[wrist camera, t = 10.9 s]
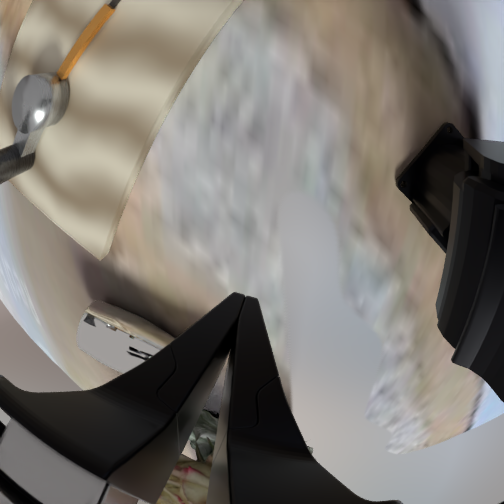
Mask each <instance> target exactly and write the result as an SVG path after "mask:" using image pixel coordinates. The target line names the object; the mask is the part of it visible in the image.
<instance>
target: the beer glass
mask: <svg viewBox="0 0 504 504" xmlns="http://www.w3.org/2000/svg"><path fill="white" fill-rule="evenodd" d="M174 339H175V337H173V336H171V335H170V334H168V333H166V332H165V331H163V330H162V329H160V328H158V327H157V326H155V325H154V324H152V323H150V322H149V321H147V320H145V319H143V318H142V317H140V316H138V315H136V314H133V313H131V312H129V311H127V310H124V309H122V308H119V307H117V306H114V305H111V304H108V303H106V302H103V301H102V300H96V301H94V302H93V303H91V304H90V305H89V307H88V308H87V309H86V311H85V312H84V314H83V316H82V318H81V320H80V323H79V326H78V330H77V345H78V348H79V349H80V350H81V351H83V352H85V353H86V354H88V355H89V356H91V357H92V358H94V359H95V360H97V361H99V362H100V363H102V364H104V365H106V366H107V367H109V368H111V369H113V370H116V371H118V372H120V373H123V374H124V373H125V372H127V371H129V370H131V369H132V368H134V367H136V366H138V365H139V364H141V363H142V362H144V361H146V360H147V359H149V358H150V357H152V356H153V355H154V354H156V353H157V352H159V351H160V350H161V349H163V348H164V347H165V346H166V345H168V344H170V342H172V341H173V340H174Z"/></svg>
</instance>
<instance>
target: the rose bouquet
mask: <svg viewBox="0 0 504 504" xmlns="http://www.w3.org/2000/svg"><path fill="white" fill-rule="evenodd" d="M218 421H219V419H217V418H214V417H213V416H212V415H211V414H210V413H209V412H208V411H206V410H202V412H201V414H200V416H199V419H198V421H197V423H196V425H195V427H194V429H193V431H192V433H191V435H190V437H189V439H188V440H190V441H191V442H190V444H191V447H192V448H193V449H195V450H196V456H197V460H196V461H195V460H193V459H191V458H189V457H187V456H185V455H183V454H181V455H180V456H179V459H178V461H177V463H176V465H175V467H174V469H173V471H172V473H171V475H170V477H169V479H168V481H167V483H166V485H165V487H164V489H163V491H162V493H161V495H160V497H159V499H158V501H157V503H156V504H206V500H207V493H208V487H209V480H210V473H211V467H212V460H213V454H214V447H215V440H216V434H217V427H218ZM307 447H308V449H309V451H310V453H311V454H312V452H313V448H310V447H309V446H307Z"/></svg>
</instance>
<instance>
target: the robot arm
mask: <svg viewBox="0 0 504 504" xmlns="http://www.w3.org/2000/svg"><path fill="white" fill-rule="evenodd" d="M448 127H450V132H449V133H448V132H447V128H448ZM402 181H405V185H404V186H401V182H402ZM396 186H397V187H398V189H399V190H400V191H401V192H402V193H403V194H404V195H405V196H406V197H407V198H408V199H409V200H410V201H411V202H412V204H411V205H410V210H411V212H412V213H413V214H414V215H415V217H416V218H417V219H418V221H419V222H420V223H421V224H422V226H423V227H424V228H425V230H426V231H427V232H428V234H429V235H430V236H431V237H432V238H433V239H434V241H435V242H436V243H437V244H438V245H439V246H440V247H441V249H442V250H443V251H444V252H445V253H446V258H445V264H444V269H443V274H442V279H441V284H440V288H439V293H438V297H437V301H436V310H437V318H438V320H439V321H438V324H437V326H438V328H439V330H440V332H441V333H442V335H443V337H444V338H445V339H446V340H447V341H448V342H449V343H450V344H451V346H452V347H454V348H455V352H454V354H453V356H452V358H451V361H452V362H453V363H455V364H457V365H460V366H463V367H465V368H468V369H470V370H472V371H473V372H475V373H476V374H477V375H479V376H480V377H482V378H483V379H484V380H485V381H486V382H487V383H488V384H489V386H490V387H491V388H492V389H493V390H494V392H495V393H496V394H497V395H498V397H499V398H500V399H501V400H502V401H503V402H504V142H499V141H490V140H480V139H467V138H463V136H462V135H461V134H460V133H459V131H458V130H457V129H456V128H455V126H454V125H453V124H451V123H448V122H446V123H444V124H443V125H442V126H441V127H440V129H439V130H438V131H437V132H436V133H435V135H434V136H433V137H432V138H431V140H430V141H429V142H428V143H427V144H426V146H425V147H424V148H423V149H422V150H421V152H420V153H419V154H418V155H417V156H416V157H415V159H414V160H413V161H412V162H411V163H410V164H409V166H408V167H407V168H406V169H405V170H404V171H403V172H402V174H401V175H400V176H399V177H398V178H397V180H396ZM229 352H230V353H229ZM228 355H229V358H228V363H227V370H226V376H225V382H224V389H223V395H222V402H221V408H220V414H219V421H218V427H217V434H216V440H215V447H214V454H213V460H212V467H211V473H210V480H209V487H208V493H207V500H206V504H403V503H401V501H399V500H389V501H378V502H376V501H369V500H365V499H363V498H361V497H359V496H357V495H356V494H354V493H353V492H352V491H351V490H350V489H348V488H347V487H346V486H345V485H343V484H342V483H341V482H340V481H339V480H337V479H336V478H335V477H334V476H333V475H332V474H330V473H329V472H328V471H327V470H326V469H325V468H323V467H322V466H321V465H320V464H319V463H318V462H317V461H316V460H315V459H314V457H313V456H312V454H311V453H310V451H309V449H308V447H307V445H306V443H305V441H304V438H303V436H302V434H301V432H300V430H299V428H298V426H297V423H296V421H295V419H294V416H293V414H292V412H291V409H290V407H289V404H288V402H287V399H286V396H285V393H284V390H283V387H282V384H281V380H280V377H278V376H279V373H278V370H277V366H276V362H275V359H274V355H273V352H272V348H271V344H270V341H269V337H268V333H267V330H266V326H265V323H264V319H263V315H262V312H261V308H260V304H259V301H258V299H257V298H254V297H251V296H246V297H245V295H244V294H240V293H237V292H233V293H232V294H231V295H229V296H228V297H227V298H226V299H224V300H223V301H222V302H221V303H219V304H218V305H217V306H216V307H214V308H213V309H212V310H211V311H209V312H208V313H207V314H206V315H204V316H203V317H202V318H201V319H199V320H198V321H197V322H196V323H194V324H193V325H192V326H191V327H189V328H188V329H187V330H186V331H184V332H183V333H182V334H181V335H179V336H178V337H177V338H175V339H174V340H173V341H172V342H170V344H168V345H166V346H165V347H164V348H163V349H161V350H160V351H159V352H157V353H156V354H154V355H153V356H152V357H150V358H149V359H147V360H146V361H144V362H142V363H141V364H139V365H138V366H136V367H134V368H132V369H131V370H129V371H127V372H125V373H124V374H122V375H120V376H118V377H117V378H115V379H113V380H111V381H109V382H108V383H106V384H104V385H102V386H100V387H97V388H94V389H91V390H85V391H71V392H43V393H36V392H28V391H24V390H21V389H19V388H17V387H15V386H14V385H13V384H12V383H11V382H10V381H9V380H7V379H6V378H5V377H4V376H2V375H0V408H1V409H2V410H3V411H4V412H5V413H6V414H7V415H9V416H10V417H11V419H10V421H9V423H8V424H7V426H5V425H4V424H3V423H2V422H1V421H0V504H137V502H138V500H142V501H144V502H147V503H149V504H156V503H157V501H158V499H159V497H160V495H161V493H162V491H163V489H164V487H165V485H166V483H167V481H168V479H169V477H170V475H171V473H172V471H173V469H174V467H175V465H176V463H177V461H178V459H179V456H180V455H181V453H182V451H183V449H184V447H185V445H186V443H187V441H188V439H189V437H190V435H191V433H192V431H193V429H194V427H195V425H196V423H197V421H198V419H199V416H200V414H201V412H202V410H203V408H204V406H205V404H206V402H207V400H208V398H209V396H210V394H211V391H212V389H213V387H214V385H215V383H216V381H217V379H218V377H219V374H220V372H221V370H222V368H223V366H224V364H225V362H226V359H227V357H228ZM499 504H504V501H503V502H501V503H499Z"/></svg>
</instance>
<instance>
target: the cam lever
mask: <svg viewBox="0 0 504 504" xmlns="http://www.w3.org/2000/svg"><path fill="white" fill-rule="evenodd" d="M114 12H115V9H114V8H113V7H111V6H110V5H108V4H104V5H103V7H102V8H101V9H100V10H99V11H98V13H97V14H96V15H95V16H94V18H93V19H92V20H91V22H90V23H89V24H88V26H87V27H86V28H85V30H84V31H83V32H82V34H81V35H80V37H79V38H78V40H77V41H76V43H75V44H74V46H73V47H72V49H71V50H70V52H69V53H68V55H67V56H66V58H65V60H64V61H63V63H62V65H61V66H60V68H59V70H58V71H57V72H50V73H40V74H32V75H27V76H25V77H23V78H22V79H21V80H20V82H19V83H18V85H17V87H16V89H15V92H14V95H13V99H12V117H13V121H14V124H15V126H16V128H17V129H18V130H17V133H16V136H15V139H14V142H13V144H12V145H10V146H7V147H5V148H2V149H0V184H2V183H3V182H5V181H7V180H9V179H11V178H13V177H15V176H17V175H19V174H21V173H23V172H25V171H27V170H30V169H31V168H32V167H33V165H34V160H35V154H34V151H35V149H36V147H37V144H38V142H39V140H40V137H41V135H42V133H43V131H44V128H46V127H49V126H53V125H55V124H57V123H58V122H59V121H60V120H61V119H62V117H63V116H64V114H65V111H66V109H67V105H68V99H69V89H68V84H67V81H66V79H67V77H68V75H69V74H70V72H71V70H72V69H73V67H74V66H75V64H76V63H77V61H78V59H79V58H80V56H81V55H82V53H83V52H84V51H85V49H86V48H87V46H88V45H89V43H90V42H91V41H92V39H93V38H94V37H95V35H96V34H97V33H98V31H99V30H100V29H101V27H102V26H103V25H104V24H105V22H106V21H107V20H108V19H109V18H110V16H111V15H112V14H113V13H114Z"/></svg>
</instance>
